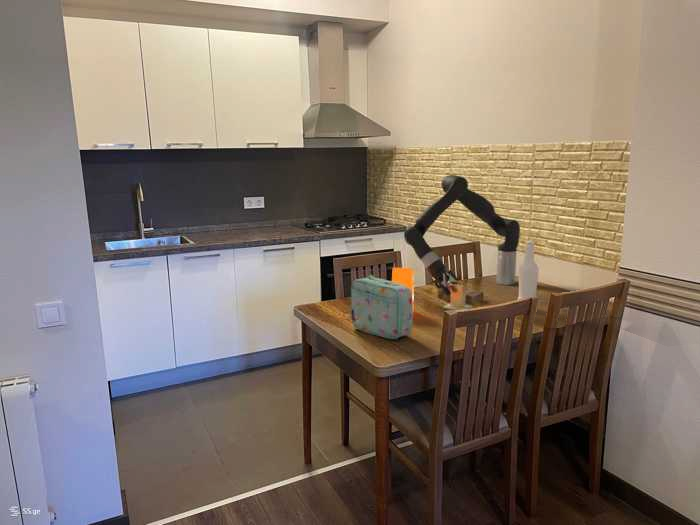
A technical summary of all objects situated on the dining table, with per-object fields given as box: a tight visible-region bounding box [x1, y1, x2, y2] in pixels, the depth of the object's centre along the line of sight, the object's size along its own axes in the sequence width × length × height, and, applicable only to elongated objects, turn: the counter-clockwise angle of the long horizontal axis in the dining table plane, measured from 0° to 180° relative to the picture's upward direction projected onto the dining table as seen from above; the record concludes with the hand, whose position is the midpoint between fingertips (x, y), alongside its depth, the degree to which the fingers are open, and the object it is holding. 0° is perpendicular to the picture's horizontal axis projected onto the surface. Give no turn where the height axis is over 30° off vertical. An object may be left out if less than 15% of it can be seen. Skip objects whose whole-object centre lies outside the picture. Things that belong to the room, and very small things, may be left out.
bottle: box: [517, 240, 539, 300], centre depth 212 cm, size 8×8×30 cm
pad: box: [442, 303, 474, 311], centre depth 220 cm, size 10×8×1 cm
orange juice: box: [391, 267, 415, 312], centre depth 212 cm, size 8×9×20 cm
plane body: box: [437, 282, 484, 306], centre depth 232 cm, size 18×10×6 cm, turn 47°
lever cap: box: [449, 283, 467, 308], centre depth 219 cm, size 6×3×10 cm, turn 47°
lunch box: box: [349, 275, 414, 340], centre depth 189 cm, size 27×10×21 cm, turn 45°
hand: (454, 292), depth 219 cm, fingers open, 8 cm apart
